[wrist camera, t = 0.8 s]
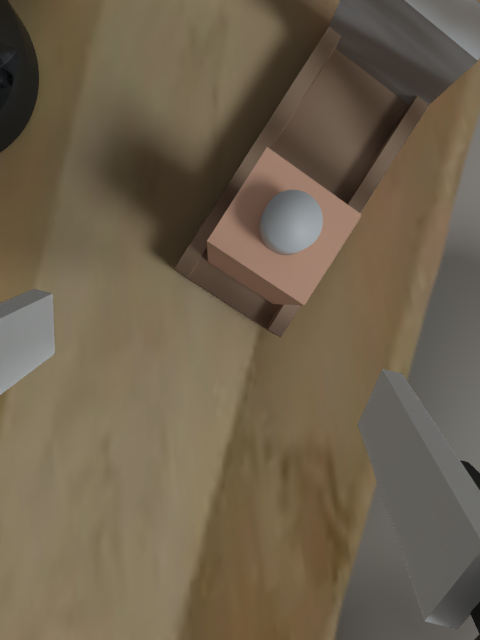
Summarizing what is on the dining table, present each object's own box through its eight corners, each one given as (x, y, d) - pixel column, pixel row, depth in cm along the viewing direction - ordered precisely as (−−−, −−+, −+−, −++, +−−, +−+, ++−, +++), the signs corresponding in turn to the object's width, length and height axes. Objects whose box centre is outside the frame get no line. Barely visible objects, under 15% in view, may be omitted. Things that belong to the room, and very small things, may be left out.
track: (273, 333, 29) (296, 345, 21) (177, 271, 28) (165, 260, 20) (426, 94, 29) (502, 22, 21) (336, 23, 28) (382, -79, 20)
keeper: (272, 304, 27) (313, 305, 16) (207, 261, 26) (206, 234, 16) (311, 243, 27) (376, 206, 16) (247, 199, 26) (273, 131, 16)
